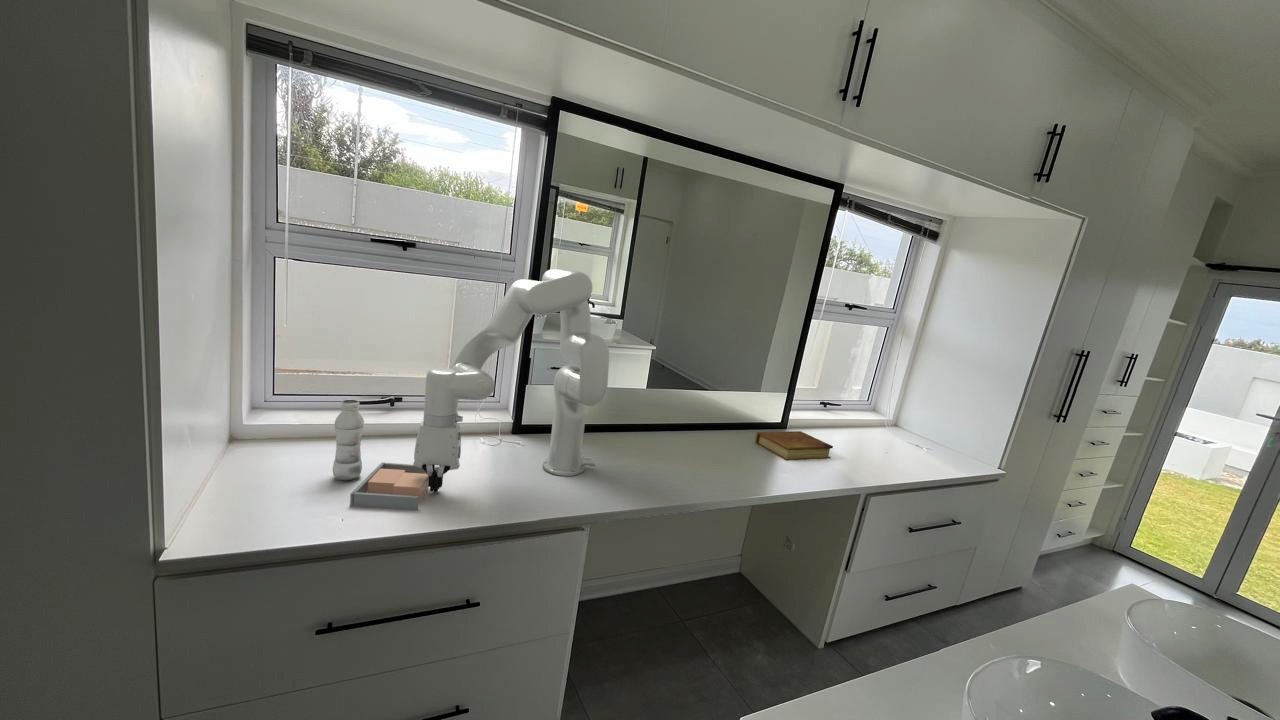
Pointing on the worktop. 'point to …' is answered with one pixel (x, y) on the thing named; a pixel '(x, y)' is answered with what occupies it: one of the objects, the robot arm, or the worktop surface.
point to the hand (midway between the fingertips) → (435, 489)
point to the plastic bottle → (348, 441)
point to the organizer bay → (386, 500)
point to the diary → (793, 445)
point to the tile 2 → (411, 485)
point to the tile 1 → (384, 481)
